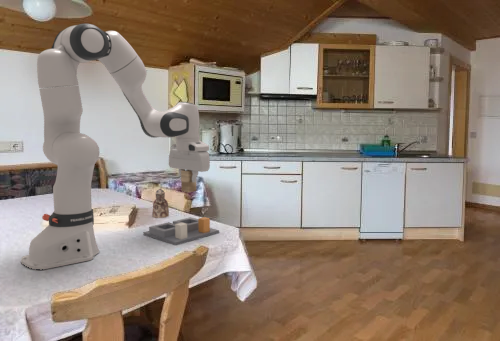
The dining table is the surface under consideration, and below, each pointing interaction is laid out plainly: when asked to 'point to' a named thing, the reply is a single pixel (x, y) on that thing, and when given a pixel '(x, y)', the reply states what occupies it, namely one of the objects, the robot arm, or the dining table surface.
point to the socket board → (189, 234)
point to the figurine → (160, 205)
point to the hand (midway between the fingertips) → (188, 181)
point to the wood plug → (187, 181)
